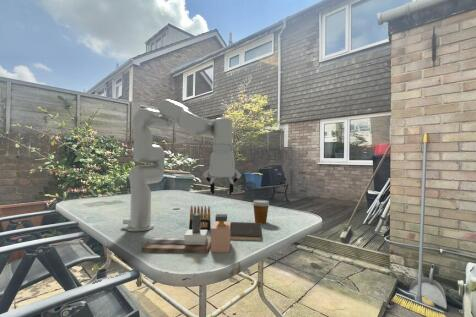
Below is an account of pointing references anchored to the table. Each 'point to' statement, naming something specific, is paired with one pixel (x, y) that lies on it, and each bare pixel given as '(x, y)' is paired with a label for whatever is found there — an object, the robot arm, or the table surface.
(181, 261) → the table surface
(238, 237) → the hardcover book
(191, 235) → the carriage
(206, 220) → the ammunition clip
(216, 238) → the pink block
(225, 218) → the button
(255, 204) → the disposable coffee cup
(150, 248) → the rail bed
